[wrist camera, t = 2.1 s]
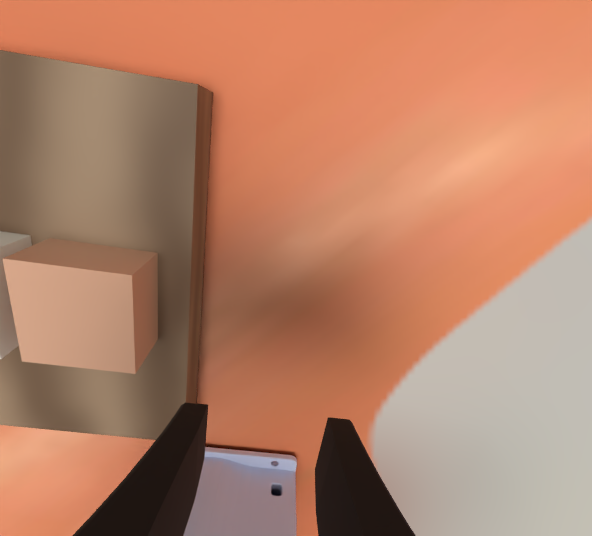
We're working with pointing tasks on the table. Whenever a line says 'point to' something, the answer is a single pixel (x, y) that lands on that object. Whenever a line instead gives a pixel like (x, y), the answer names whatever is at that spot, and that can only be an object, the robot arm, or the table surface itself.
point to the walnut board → (107, 225)
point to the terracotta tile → (84, 304)
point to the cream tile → (3, 332)
